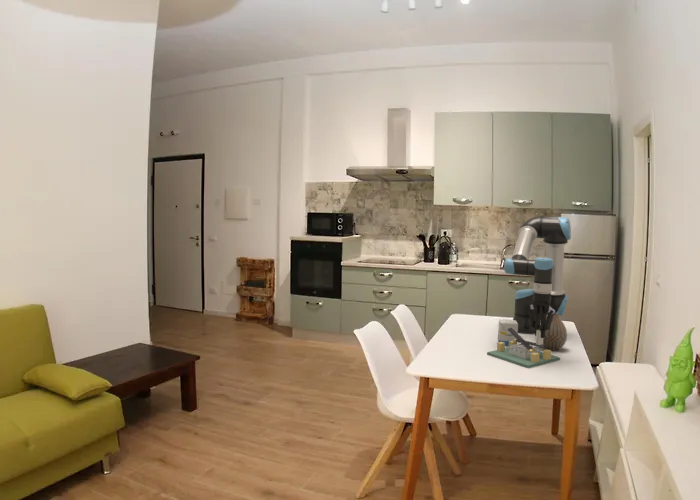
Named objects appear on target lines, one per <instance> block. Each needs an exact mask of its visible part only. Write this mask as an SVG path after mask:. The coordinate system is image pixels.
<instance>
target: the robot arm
mask: <svg viewBox="0 0 700 500" xmlns="http://www.w3.org/2000/svg"><path fill="white" fill-rule="evenodd" d="M571 228H572V227H571V221H570V219H569V218H568V217H565V216H564V217H563V216H542V215H541V216H540V215H539V216H534V217H531V218H528V219H527V220H525V221H524V222H523V223H522V224H521V225H520V226H519V228H518V231H517V235H518V238H517V240H516V243H515V246H514V250H513V253H512V255H511V257H509V258H505V260H504V265H503V266H504V267H503V269H504V270H503V271H504V273H505V274H508V275H512V276H513V275H514V276H515V275H517V276H530V277H533V288H524V289H519V290H516V292H515V297H514V316H513V318H512V320H516V322H517V323H518V333H519V334H526V335H529V334H532V335H533V334H534V337H535V343H536V344H537V345H542V344H543V338H545V331H546V330H549V329H550V326H551V322H552V319H553V315H554V313H558V315H559V317H562V316H564V315H565V311H566V307H567V302H568V298H569V297H568V296H569V295H568V294H566V291H565V290H564V289H563V280H564V279H563V277H564V276H563V275H564V259H565V258H564V257H565V246H566V245H567V244H568V242H569V241H570V240H571V238H572V229H571ZM536 239H543V243H544V244H545V245H546V250H545V251H546V252H545V254H546V255H545V257H536V258H535V259H529V258H530V255H531V251H532V247H533V243H534V241H535V240H536ZM546 317H547V320H546ZM540 324H541V327H540Z"/></svg>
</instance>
